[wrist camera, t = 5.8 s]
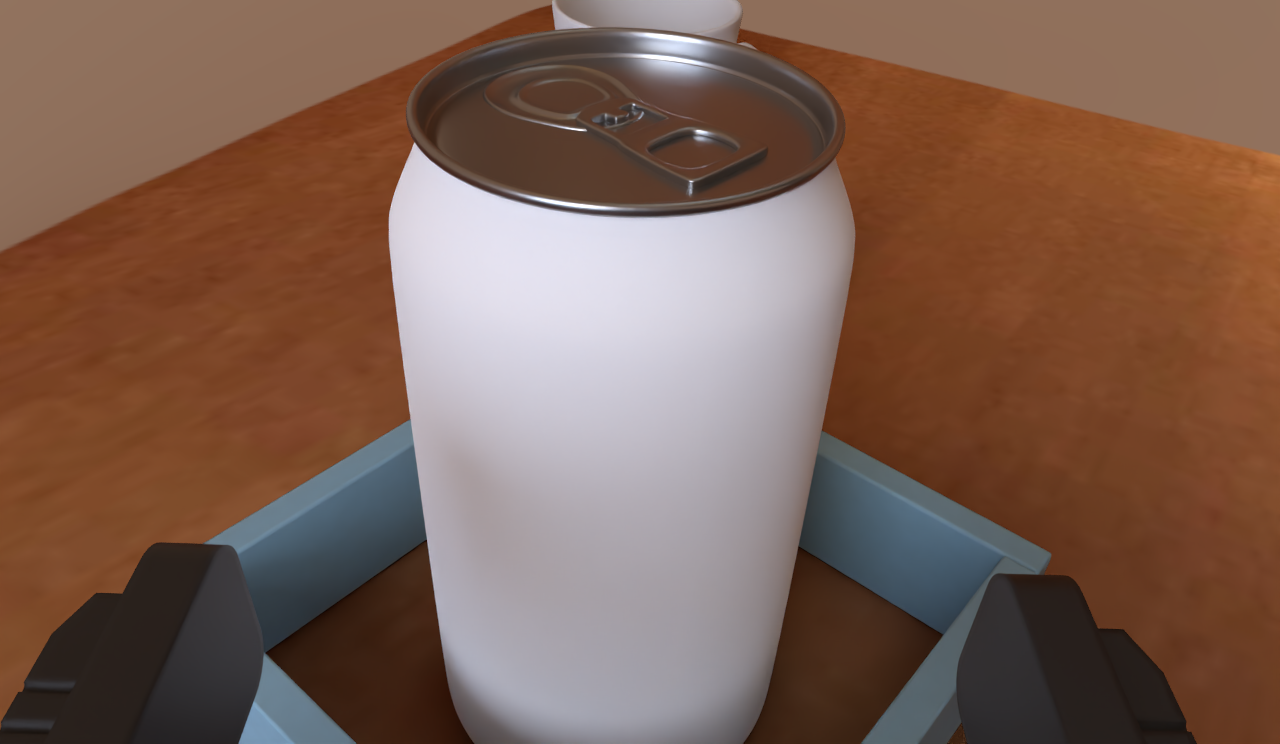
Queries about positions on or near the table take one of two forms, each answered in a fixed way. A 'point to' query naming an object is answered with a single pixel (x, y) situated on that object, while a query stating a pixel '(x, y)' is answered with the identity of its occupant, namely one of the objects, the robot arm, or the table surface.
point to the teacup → (654, 16)
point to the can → (617, 372)
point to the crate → (832, 531)
